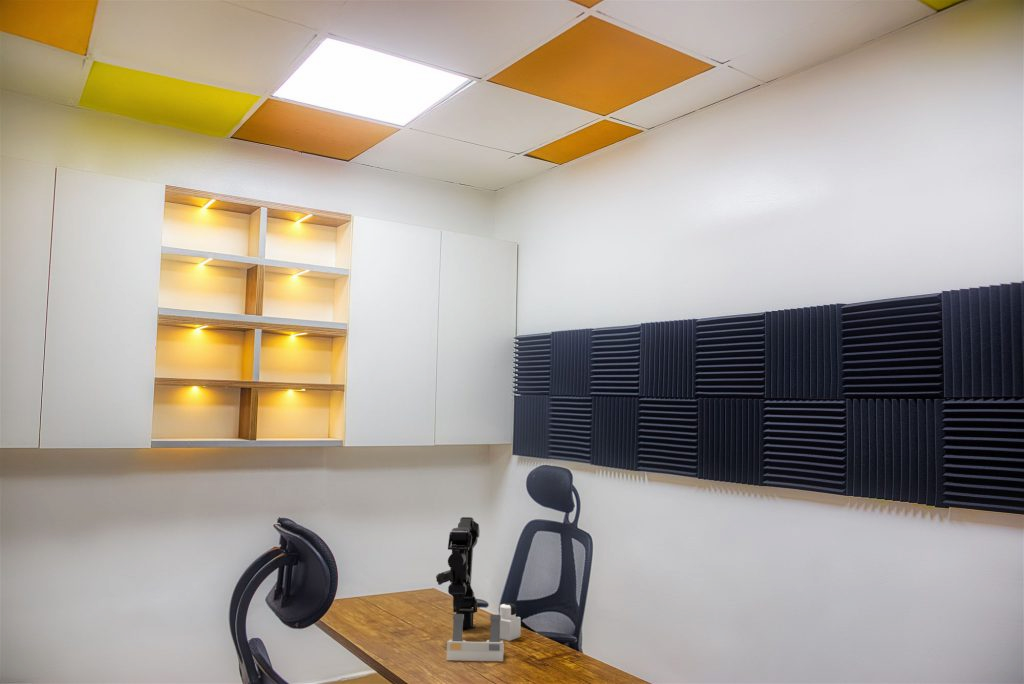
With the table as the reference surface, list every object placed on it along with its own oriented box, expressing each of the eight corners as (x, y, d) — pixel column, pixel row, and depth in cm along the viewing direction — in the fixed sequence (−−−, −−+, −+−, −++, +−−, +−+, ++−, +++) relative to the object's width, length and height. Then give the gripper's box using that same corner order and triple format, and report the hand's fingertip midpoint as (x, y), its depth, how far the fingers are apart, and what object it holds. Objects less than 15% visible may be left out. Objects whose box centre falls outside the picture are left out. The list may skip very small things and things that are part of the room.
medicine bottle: (505, 633, 284) (505, 600, 285) (520, 636, 280) (521, 603, 281) (494, 637, 278) (494, 604, 280) (509, 641, 274) (510, 607, 275)
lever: (489, 645, 259) (490, 615, 263) (500, 645, 259) (500, 615, 263) (489, 645, 257) (490, 614, 261) (499, 645, 257) (500, 614, 261)
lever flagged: (452, 645, 259) (453, 614, 263) (462, 645, 259) (463, 614, 263) (451, 644, 257) (453, 613, 261) (462, 644, 257) (463, 614, 261)
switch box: (449, 651, 262) (449, 634, 262) (503, 652, 261) (503, 634, 262) (446, 660, 252) (446, 642, 253) (502, 661, 252) (503, 643, 253)
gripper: (440, 558, 286) (440, 600, 285) (434, 568, 267) (433, 613, 266) (470, 558, 286) (469, 600, 284) (465, 569, 267) (464, 614, 266)
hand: (458, 607), depth 275 cm, fingers open, 9 cm apart
